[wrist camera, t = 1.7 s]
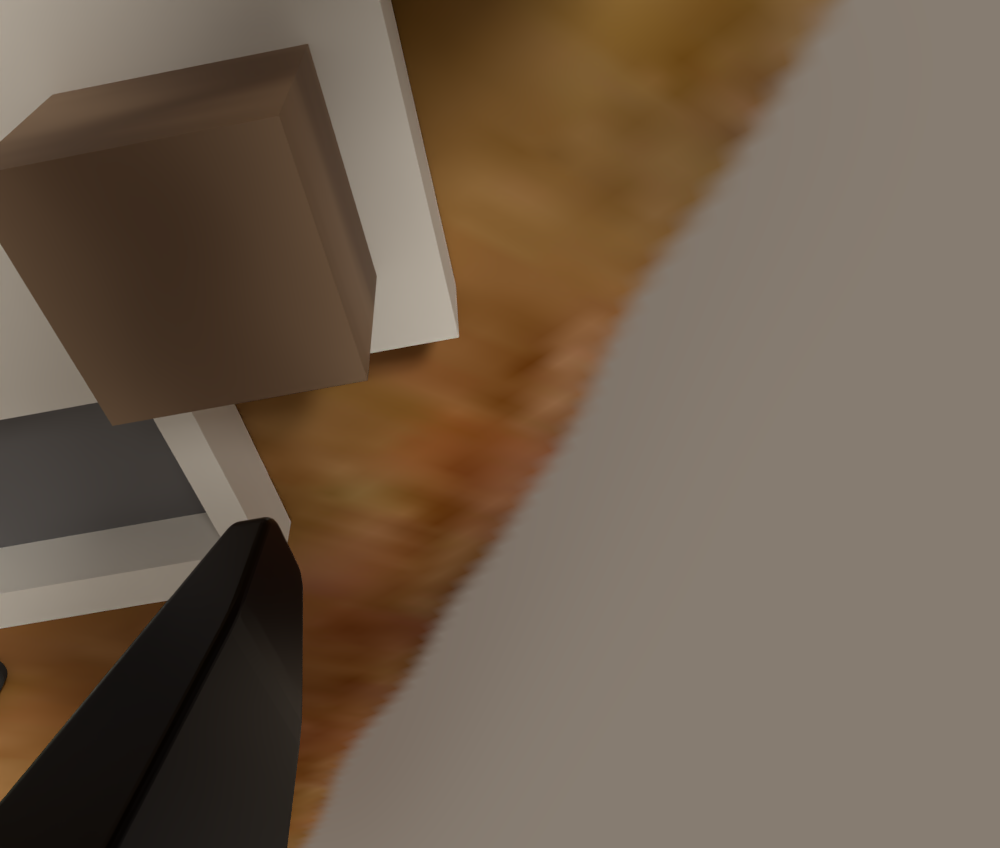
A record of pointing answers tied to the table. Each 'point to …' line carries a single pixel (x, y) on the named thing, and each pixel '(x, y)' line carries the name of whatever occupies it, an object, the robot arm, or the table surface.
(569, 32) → the table surface
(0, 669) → the phone
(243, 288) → the walnut block
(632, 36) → the table surface
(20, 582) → the box
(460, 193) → the table surface
